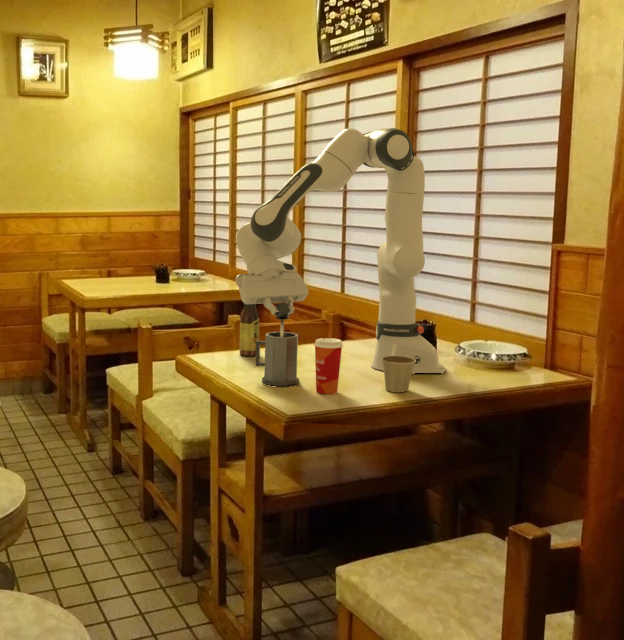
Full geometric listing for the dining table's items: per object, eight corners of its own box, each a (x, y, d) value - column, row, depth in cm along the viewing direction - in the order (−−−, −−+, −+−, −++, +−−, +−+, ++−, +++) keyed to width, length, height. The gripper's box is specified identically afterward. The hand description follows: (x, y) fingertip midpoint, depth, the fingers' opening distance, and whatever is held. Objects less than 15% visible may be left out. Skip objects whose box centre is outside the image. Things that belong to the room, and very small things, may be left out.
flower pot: (420, 394, 211) (421, 362, 210) (387, 395, 209) (388, 363, 207) (406, 385, 220) (407, 355, 219) (374, 386, 218) (376, 356, 216)
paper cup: (310, 388, 214) (312, 337, 211) (338, 388, 214) (340, 337, 212) (314, 395, 206) (315, 343, 204) (343, 395, 207) (345, 343, 204)
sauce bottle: (257, 357, 250) (259, 295, 247) (238, 356, 250) (239, 294, 247) (259, 353, 257) (260, 292, 253) (240, 352, 257) (241, 291, 254)
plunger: (292, 364, 221) (294, 302, 218) (291, 369, 215) (292, 305, 212) (271, 364, 221) (272, 301, 218) (269, 368, 215) (270, 305, 212)
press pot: (300, 378, 223) (301, 332, 221) (298, 388, 213) (299, 339, 211) (257, 377, 224) (258, 330, 222) (253, 386, 214) (254, 337, 211)
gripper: (237, 267, 213) (255, 308, 207) (300, 265, 225) (318, 303, 218) (229, 281, 217) (246, 322, 211) (291, 279, 229) (309, 317, 223)
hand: (283, 313), depth 215 cm, fingers closed on plunger, 4 cm apart
